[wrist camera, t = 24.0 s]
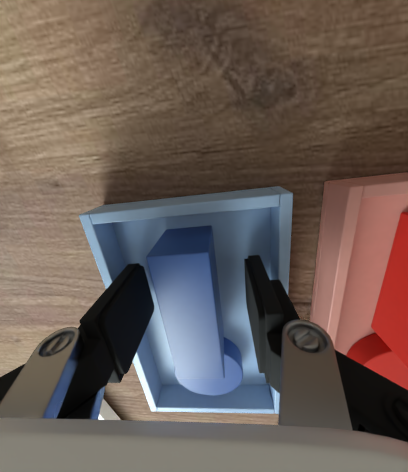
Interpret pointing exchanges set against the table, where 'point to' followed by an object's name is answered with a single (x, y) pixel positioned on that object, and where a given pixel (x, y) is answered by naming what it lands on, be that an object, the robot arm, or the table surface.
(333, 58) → the table surface
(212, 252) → the blue spoon
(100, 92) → the table surface
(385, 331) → the red spoon
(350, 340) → the rose tray
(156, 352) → the blue tray
